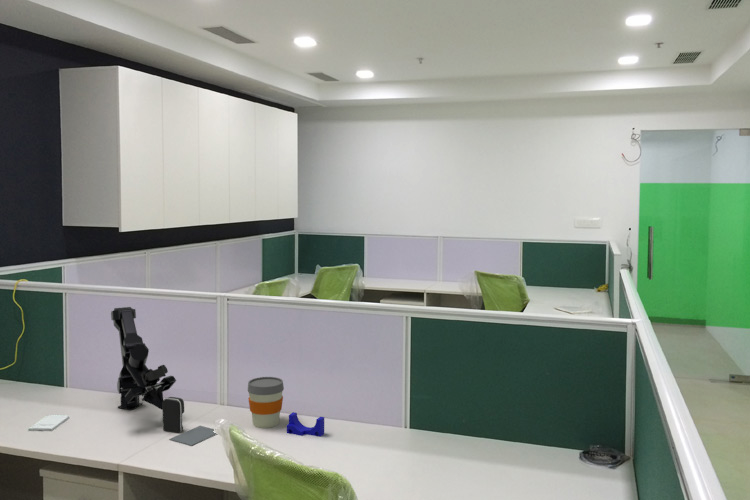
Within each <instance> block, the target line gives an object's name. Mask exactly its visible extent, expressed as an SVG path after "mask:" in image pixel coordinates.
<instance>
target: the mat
mask: <svg viewBox="0 0 750 500" xmlns="http://www.w3.org/2000/svg"><path fill="white" fill-rule="evenodd" d="M214 429H215V428H210V427H206V426H202V425H198V426H195V427H193V428H192V429H189V430H187V431H184V432H181V433H179V434H178V435H175V436H173V437H171V438H169V439H168V440H169V441H173V442H175V443H179V444H183V445H187V446H189V447H193V446H195V445H197V444H199V443H201V442H203V441H205V440H208V439H210V438H212V437H214V436H216V435H217V434H216V433H214V432H213V431H214ZM215 434H216V435H215Z"/></svg>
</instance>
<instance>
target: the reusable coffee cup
mask: <svg viewBox="0 0 750 500" xmlns="http://www.w3.org/2000/svg"><path fill="white" fill-rule="evenodd" d="M283 391H284V380H283V379H282V378H280V377H276V376H275V377H274V376H262V377H261V376H259V377H256V378H252V379H249V380H248V384H247V392H248V399H247V400H248V404H249V411H250V412H251V417H252V418H251V419H252V425H253V426H254V427H256V428H262V429H263V428H264V429H268V428H272V427H276V426H278V425H279V423H280V415H281V410H282V408H283V401H284V396H283Z"/></svg>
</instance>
